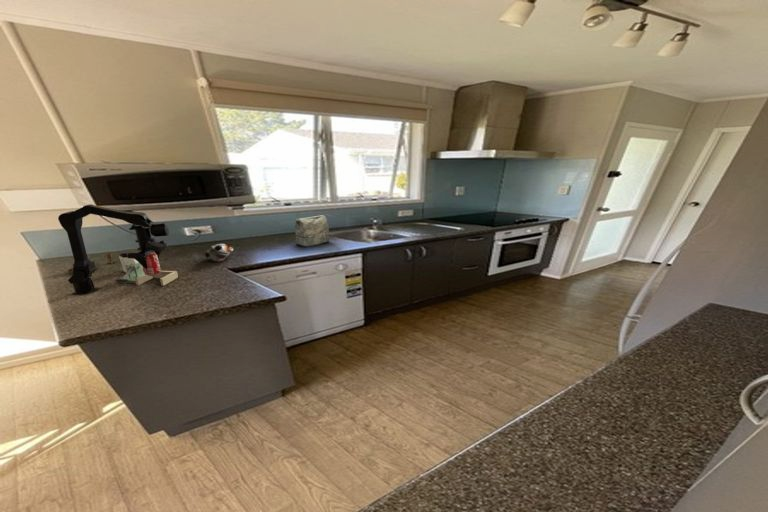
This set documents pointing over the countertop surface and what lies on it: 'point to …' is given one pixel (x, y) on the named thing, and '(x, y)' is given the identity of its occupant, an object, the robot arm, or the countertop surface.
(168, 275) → the tray
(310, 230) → the lunch bag
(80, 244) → the robot arm
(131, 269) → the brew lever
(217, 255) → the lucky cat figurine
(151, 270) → the soda can
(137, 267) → the coffee maker
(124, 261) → the jar
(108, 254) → the place setting
